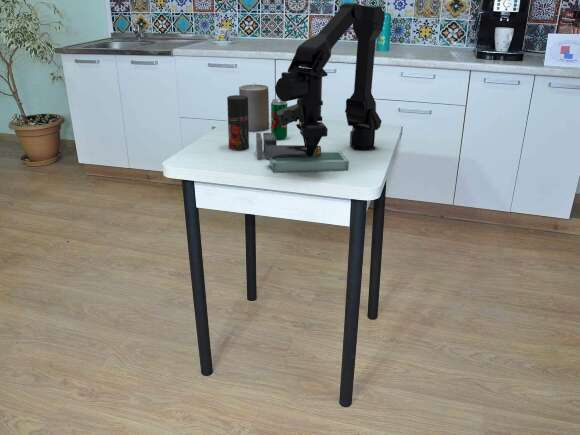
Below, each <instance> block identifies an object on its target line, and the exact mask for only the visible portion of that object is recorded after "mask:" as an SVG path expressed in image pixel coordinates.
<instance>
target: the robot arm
mask: <svg viewBox="0 0 580 435" xmlns="http://www.w3.org/2000/svg"><path fill="white" fill-rule="evenodd" d="M385 15H386V14H385V10H383V8H382V6H379V5H364V4H363V5H362V4H359V3H356V2H344V3H342V4H340V6H339V9H338V11H337V12H336V13H335V14H334V15H333V17H332V18H331V19H330V20H329V21H328V22H327V23H326V24H325V26H323V27H322V28H321V30H320V31H319V33H318V34H316V35H314V36H313V37H312V36H311V38H308V39H306V40H305V41H303V42H302V43H300V44H299V45H298V47H297V49H296V50H295V54H294V56H293V58H292V60H291V62H290V65H289V67H288V69H287V72H286V71H284V72H283V71H282V72H281V77H280V78H278V80H277V81H276V83H275V86H274V90H275V94H276V96H277V99H280V100H281V101H284V102H285V101H286V102H290V101H295V100H296V103H295V104H293V105H289V106H287V107H286V108H284V109H281V110H279V111H277V114H278V117H279V120H280V122H281V125H282V126H286V125H287V126H288V125H289V124H291V123H293V122H295V126H296V128H297V129H298V130H299V133H300V135H301V137H302V139H303V143H304V144H303V145H306V147H307V153H308V156H309V157H311V156H313V154H314V152H315V149H316V147H317V146H319V143H320V142H321V140H322V139H323V138H322V137H324V138H326V137H328V130H329V129H328V127H327V126H326V124H324V123H323V116H322V106H323V105H324V101H323V100H322V98H323V95H322V92H323V77H327V76H328V72H327V71H326V70H325V69H324V68H325V66H326V65H327V63H328V62H329V60H330V59H331V57H332V49H333V47H334V46H335V45H336V44H337V43H338V41H340V39H341V38H342V37H343V36H344V35H345V33H346V32H347V31H348V30H349V29H350V28H351V26H352V31H353V32H354V36H355V37H356V39H357V44H356V45H357V46H356V58H355V59H356V60H355V74H354V83H353V84H354V86H353V93H352V94H351V96H350V97H348V98H346V100H345V110H344V112H345V117H346V121H347V126H349V127H352V128H351V129H352V130H350V133H349V145H350V147H351V148H353V150H354V151H356V150H357V151H358V150H359V151H361V150H362V151H363V150H364V151H366V150H369V151H370V150H376V149H377V148H376V147H375V138H376V131H378V130H379V129H380V128H381V125H382V123H383V122H382V119H381V118H380V116H379V114H378V112H377V102H376V100H375V97H374V96H373V93H372V89H373V79H374V78H373V75H374V67H375V66H374V65H375V63H374V62H375V53H376V42H377V39H378V38H379V37H380V34H381V33H382V32H383V29H384V28H383V27H384V23H385V19H386V16H385ZM297 122H298V123H297Z"/></svg>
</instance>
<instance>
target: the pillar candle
mask: <svg viewBox="0 0 580 435" xmlns="http://www.w3.org/2000/svg"><path fill="white" fill-rule="evenodd" d="M238 93H239V94H238V95H243V96H247V97H248V122H249V132H251V133H252V132H255V133H258V132H262V131H266V130H269V129H270V104H269V103H270V100H269V97H270V96H269V86H268V85H266V84H256V83H255V82H254V83H253V84H244V85H240V86H239V87H238Z"/></svg>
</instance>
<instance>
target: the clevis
mask: <svg viewBox="0 0 580 435" xmlns="http://www.w3.org/2000/svg"><path fill="white" fill-rule="evenodd" d="M255 139H256V140H255V148H256V149H255V150H256V157H257V160H258V161H260V160H261V161H262V160H263V154H264V156H265V157H264V158H265V161H266V160H267V161H268V160H269V161H270V158H268V156H267V147H268V145H278V143H277V141H278V140H276V137H275V135H274V133H271V132H263V137H262V134H261V132H255Z"/></svg>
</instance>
